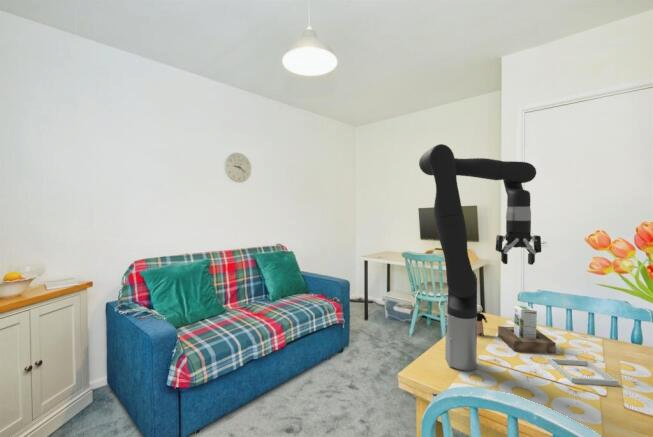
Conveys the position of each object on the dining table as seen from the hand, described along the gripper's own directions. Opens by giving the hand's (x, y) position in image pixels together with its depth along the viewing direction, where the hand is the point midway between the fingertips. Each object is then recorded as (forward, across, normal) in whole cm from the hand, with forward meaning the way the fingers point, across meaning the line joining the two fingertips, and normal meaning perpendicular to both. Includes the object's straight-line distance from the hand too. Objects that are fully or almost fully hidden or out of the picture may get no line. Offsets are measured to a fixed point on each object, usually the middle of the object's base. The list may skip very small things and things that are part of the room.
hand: (517, 264), depth 108 cm
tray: (+33, +14, -11) cm, 38 cm away
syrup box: (+33, +7, +9) cm, 35 cm away
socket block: (+33, +7, +9) cm, 35 cm away
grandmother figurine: (+33, -8, +16) cm, 38 cm away
